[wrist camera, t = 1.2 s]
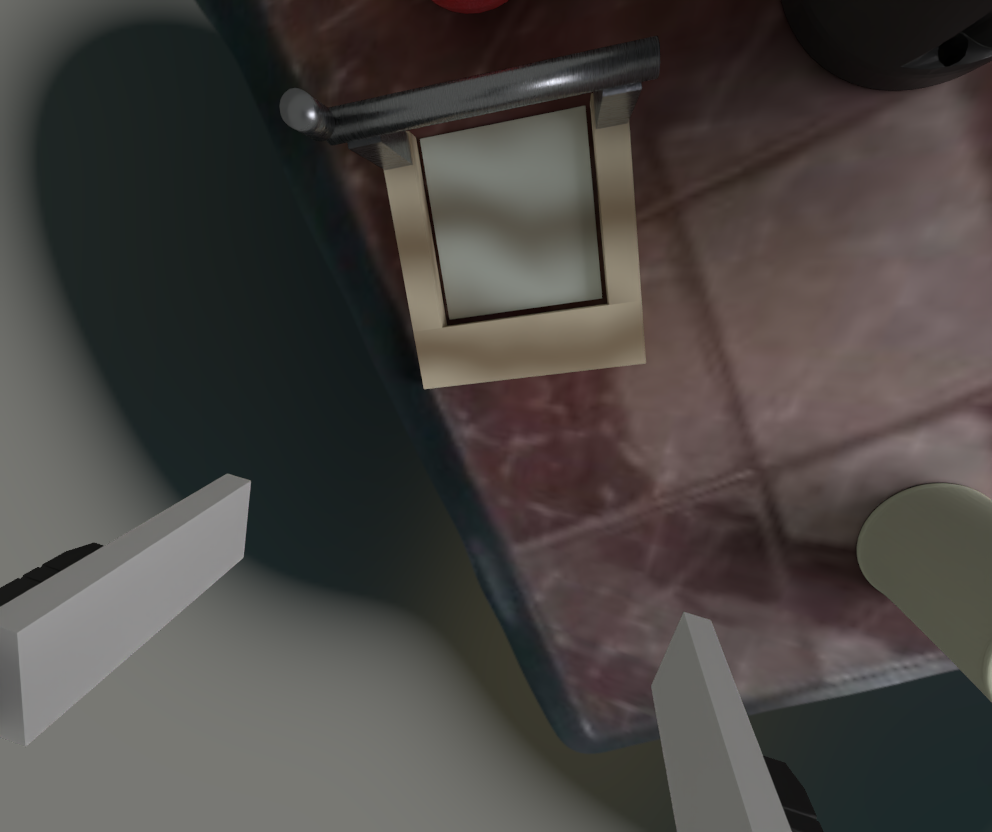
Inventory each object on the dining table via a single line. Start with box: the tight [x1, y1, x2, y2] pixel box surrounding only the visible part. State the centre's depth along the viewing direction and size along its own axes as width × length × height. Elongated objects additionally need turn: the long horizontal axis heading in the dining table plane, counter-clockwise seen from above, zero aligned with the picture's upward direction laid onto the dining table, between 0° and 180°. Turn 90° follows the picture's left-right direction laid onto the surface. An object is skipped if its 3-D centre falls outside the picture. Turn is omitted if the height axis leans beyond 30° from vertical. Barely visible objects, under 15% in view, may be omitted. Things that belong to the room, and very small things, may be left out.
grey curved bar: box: [280, 36, 660, 170], centre depth 26 cm, size 2×17×9 cm, turn 99°
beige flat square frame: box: [384, 93, 646, 389], centre depth 33 cm, size 16×15×2 cm
